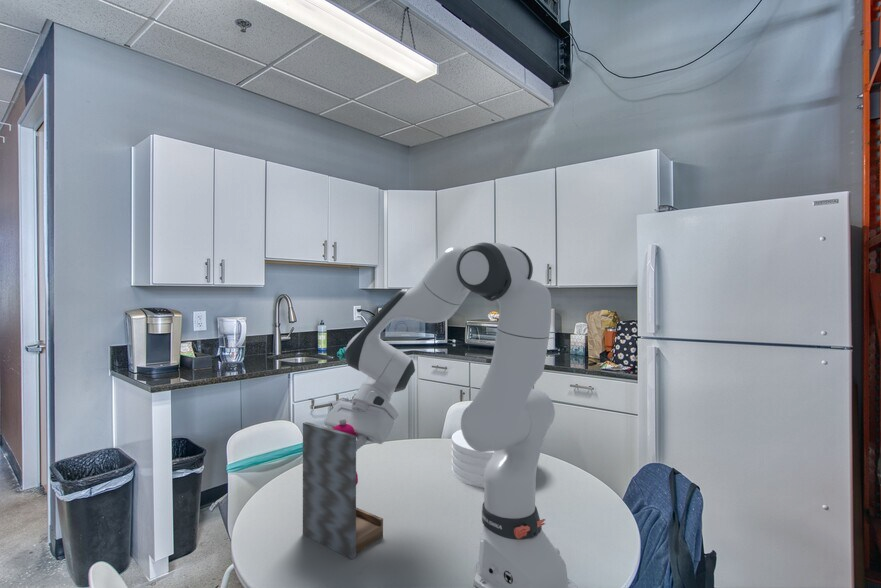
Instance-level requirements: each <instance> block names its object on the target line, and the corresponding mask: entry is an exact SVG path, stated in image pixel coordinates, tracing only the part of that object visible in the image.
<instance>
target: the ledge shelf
mask: <svg viewBox="0 0 881 588" xmlns="http://www.w3.org/2000/svg"><path fill="white" fill-rule="evenodd" d="M356 441H357V437H356V435H352V434H348V433H345V432H341V431H338V430H334V429H330V428H328V427H326V426H323V425H320V424H315V423H312V422H308V421H306V422H302V535H304V536H305V537H308V538H309V539H311V540H313V541H314V542H317V543H318V544H321V545H323V546H324V547H327V548H328V549H330V550H333V551H334V552H337V553H339V554H340V555H342V556H344V557H346V558H348V559H350V560H354V559H356V557H357V554H358V553H360V552H361V551H362V550H364V549H366V548H367V547H369V546H371V545H372V544H374V543H375V542H377V541H379V540H380V539H382V538H383V537H384V518H383V517H380V516H378V515H375V514H373V513H371V512H369V511H366V510H363V509H360V508H358V507H357V485H356V471H357V451H356Z"/></svg>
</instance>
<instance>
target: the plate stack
mask: <svg viewBox="0 0 881 588" xmlns="http://www.w3.org/2000/svg"><path fill="white" fill-rule="evenodd" d="M493 453H494V451H491V452H479V451H476V450H474V449H473V448H471V447H470V446H469V445H468V443H467V442H466V440H465V439H464V437H463V434H462V431H461V429H458V430H456V431H455V432H454V433H453V434H452V435H451V473H452V475H453V477H455V478H456V479H457V480H458V481H460V482H462V483H464V484H466V485H470V486H473V487H475V488H476V487H477V488H483V489H484V472H485V468H486V465H487V463H488V462H489V460H490V459H491V457H492V455H493Z"/></svg>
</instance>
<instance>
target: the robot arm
mask: <svg viewBox="0 0 881 588" xmlns="http://www.w3.org/2000/svg"><path fill="white" fill-rule="evenodd" d="M533 267H534V266H533V262H532V260H531V258H530V256H529V254H527V253H526V252H525V251H524V250H522V249H520V248H519V247H516V246H509V245H507V244H505V243H500V242H477V243H473V244H471V245H469V246H468V247H466V248H463V247H460V246H452V247H448V248H447V249H445V250H444V251H443V252H442V253H441V254H440V255H439V256H438V257H437V259H436V260H435V261H434V262H433V263H432V265H431V266H430V268H428V270H427V271H426V273H425V274H424V276H423V277H422V279H421V281H420V282H419V283H417V284H416V285H415V286H413V287H410V288H401V289H400V290H398V291H397V292H396V293H395V294H394V295H393V296H392V297H391V298H390V299H389V300H388V301H387V302H386V303H385V304H384V305H382V306H383V307H381V309H380V310H379V311H378V312H377V313H376V314H375V315H374V316H373V317H372V319H370V320H369V322H368V323H367V325H366V326H365V327H364V328H363V329H362V330H361V331H359V332H357V334H355V335H354V336H353V337H352V338H351V339H349V341H348V343H347V345H346V347H345V349H344V352H343V353H344V358H345V361H346V363H347V366H349V367H350V368H353V369H354V370H357V371H359V372H361V373H363V374H365V375H366V376H367V378H366V380H365V381H364V382H362V384H361V385H360V387H359V388H358V390H357V391H356V393H355V394H354V396H353V398H352V399H350V398H347V397H346V398H344V399H341V400H340V401H339V402H337V403H336V404H335V405H334V407H332V408H331V410H330V411H329V412H328V414H327V415H326V417H325V418H324V421H323V422H324V423H323V424H324V427H327V428H330V429H333V428H334V427H335V426H337V425H339V424H340V423H339V421H340V419H341V418H345V419H346V421H347V422H346V424H349V425H351V426H352V427H353V428H354V432H355V435H356V452H357V451H358V450H359V449H360V448H362V447H363V446H364V445H365V444H366V443H367V442H371V443H375V444H378V445H382V444H383V443H385V442H386V441H387V439H388V438H389V437H390V434H391V432H392V430H393V428H394V425H395V421H396V420H397V419H398V417H399V415H400V414H399V412H398V411H397V409H396V408H395V407H394V406H393V405H392V404H391V402H390V401H391V399H392V395H393V394H394V393H397V392H402V391H404V390H406V388H407V386H408V384H409V381H410V379H411V378H412V376H413V375H414V373H415V372H416V368H415V363H414V360H413V359H412V358H411V357H410V356H409V355H407V354H406V353H405V352H403V351H402V350H400V349H398V348H396V347H394V346H393V345H391V344H389V343H387V342H386V341H384V340H383V339H381V338H380V336H379V335H380V334H381V333H382V332H383V331H384V330H385V328H387V326H388V325H389V324H391V323H392V322H393V321H394V320H397V319H407V320H413V321H418V322H421V323H428V324H437V323H442V322H446V321H448V320H449V319H450V318H452V317H453V315H455V314H456V312H457V311H458V309H459V308H460V307H461V305H462V304H463V302H464V301H465V299H466V298H467V297H468V296H469V294H470V293H471V292H473V293H474V294H477V295H479V296H480V297H482V298H484V299H485V300H487V301H490V302H493V301H496V302H497V303H498V307H499V313H498V321H497V326H496V327H497V328H496V333H495V334H496V335H495V340H494V345H493V352H492V358H491V362H490V365H489V368H488V371H487V372H486V373H487V374H486V376H485V378H484V380H483V383H482V384H481V386H480V389H479V391H478V393H477V394H476V396H475V397H474V399H473V400H472V401H471V402H470V403H469V405H467V407H466V408H465V409H463V410H464V411H463V412H462V415H461V417H460V430H461V431H462V434H463V437H464V439H465V440H466V442H467V443H468V445H469V446H470V447H471V448H473V449H474V450H476V451H479V452H491V451H494V453H493V455H492V457H491V459H490V460H489V462H488V463H487V465H486V468H485V472H484V488H483V489H484V491H483V492H484V493H483V494H484V495H483V496H484V497H483V498H484V500H483V503H482V506H481V522H482V525H483V528H482V534H481V536H480V537H481V538H480V543H479V553H478V560H477V564H476V568H475V569H476V574H475V576H474V580H473V585H474V586H475V587H476V588H579V587H578V586H577V585H576V584H575V583H574V582H573V581H572V580H570V578H568V571H567V565H566V563H565V560H564V559H563V557H562V556H561V553H560V550H559V547H557V546H556V545H553V544H552V543H553V542H551V540H550V538H549V537H548V536H547V535H546V533H545V532H544V530H543V529H542V527H543V526H544V525H546V522H545V521H546V519H545V518H542V519H540V514H539V511H538V509H537V505H536V485H537V484H536V483H537V482H536V481H537V472H538V471H537V469H538V465H539V459H540V456H541V451H542V450H543V449H542V447H543V445H544V440H545V437H546V436H547V433H548V431H549V429H550V427H551V425H552V424H553V422H554V419H555V416H556V415H555V414H556V413H555V412H556V411H555V410H556V409H555V406H554V403H553V401H552V399H551V398H550V396H549V395H548V394H547V393H546V392H544V391H542V390H540V389H536V388H534V386H535V385H536V382H537V381H538V380H539V379H540V378H541V376H542V375H543V373H544V369H545V365H546V358H547V354H548V353H547V352H548V347H549V339H550V333H551V325H552V295H551V292H550V290H549V288H548V287H547V286H546V285H544V284H543V283H541V282H538V281H536V280H531V279H532V277H533V273H534V272H533V270H534V268H533Z"/></svg>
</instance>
